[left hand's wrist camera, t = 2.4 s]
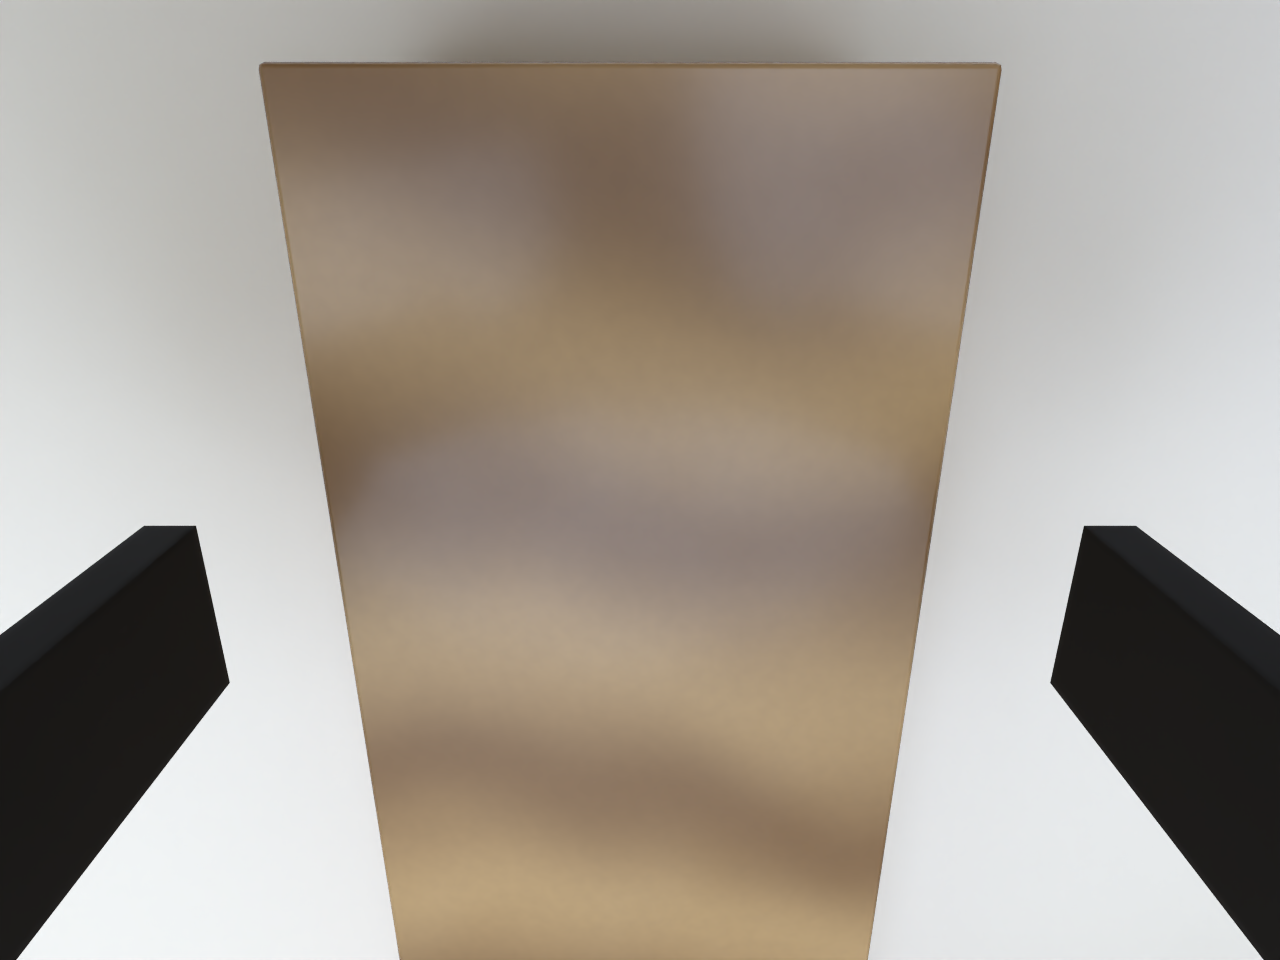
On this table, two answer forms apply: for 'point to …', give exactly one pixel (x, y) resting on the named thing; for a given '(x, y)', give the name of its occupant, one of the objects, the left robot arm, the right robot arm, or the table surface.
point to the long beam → (631, 476)
